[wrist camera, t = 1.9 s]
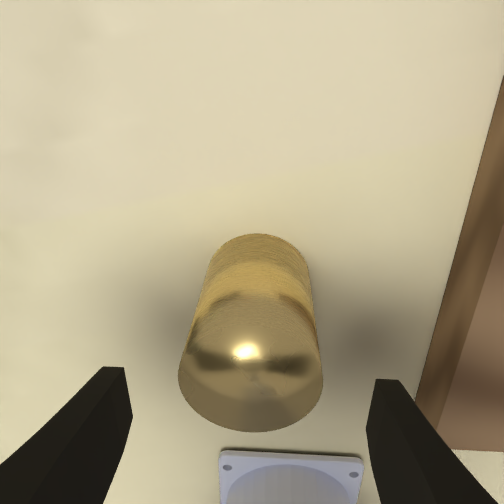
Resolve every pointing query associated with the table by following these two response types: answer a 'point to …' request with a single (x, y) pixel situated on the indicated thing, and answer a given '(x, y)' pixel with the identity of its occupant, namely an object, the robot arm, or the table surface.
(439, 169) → the table surface
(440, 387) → the frame
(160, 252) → the table surface
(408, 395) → the robot arm
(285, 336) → the brass peg
